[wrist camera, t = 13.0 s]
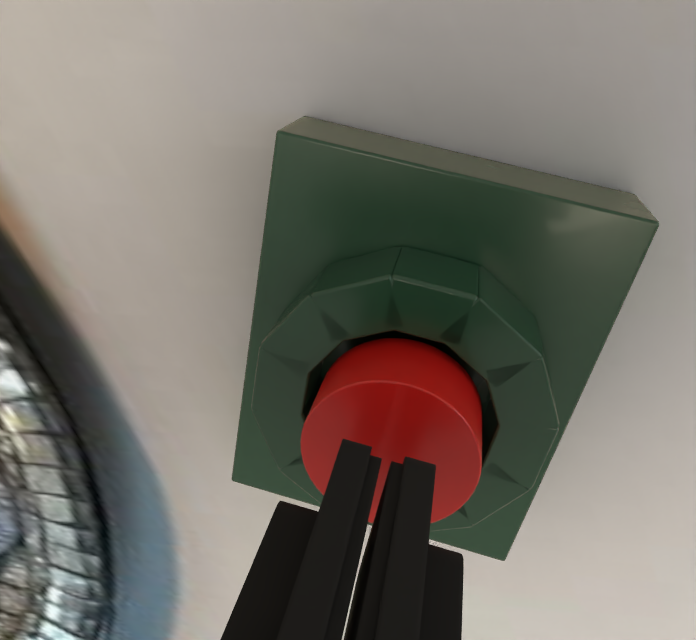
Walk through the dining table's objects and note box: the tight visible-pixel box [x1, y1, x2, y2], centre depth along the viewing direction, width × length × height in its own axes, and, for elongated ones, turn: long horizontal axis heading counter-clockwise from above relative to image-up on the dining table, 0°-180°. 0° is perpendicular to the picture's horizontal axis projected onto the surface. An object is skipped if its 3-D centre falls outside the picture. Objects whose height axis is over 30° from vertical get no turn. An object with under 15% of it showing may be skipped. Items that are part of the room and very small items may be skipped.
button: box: [300, 338, 482, 523], centre depth 13 cm, size 4×4×2 cm
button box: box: [232, 116, 659, 561], centre depth 15 cm, size 10×8×4 cm
